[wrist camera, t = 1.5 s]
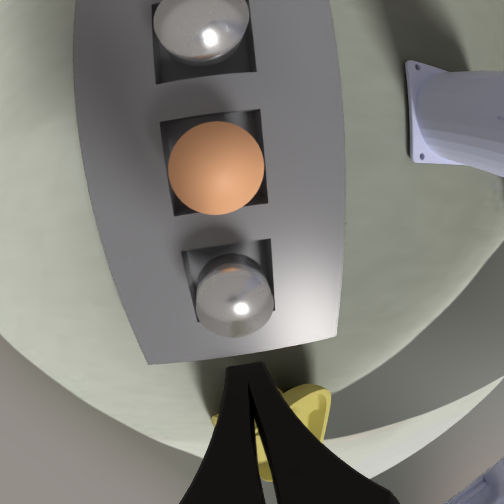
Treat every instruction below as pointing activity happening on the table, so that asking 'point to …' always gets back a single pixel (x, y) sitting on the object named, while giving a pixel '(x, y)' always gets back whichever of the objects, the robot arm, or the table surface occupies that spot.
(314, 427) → the plastic component
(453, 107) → the robot arm
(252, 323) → the plunger
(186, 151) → the orange plunger
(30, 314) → the table surface
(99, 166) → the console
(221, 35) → the plunger
